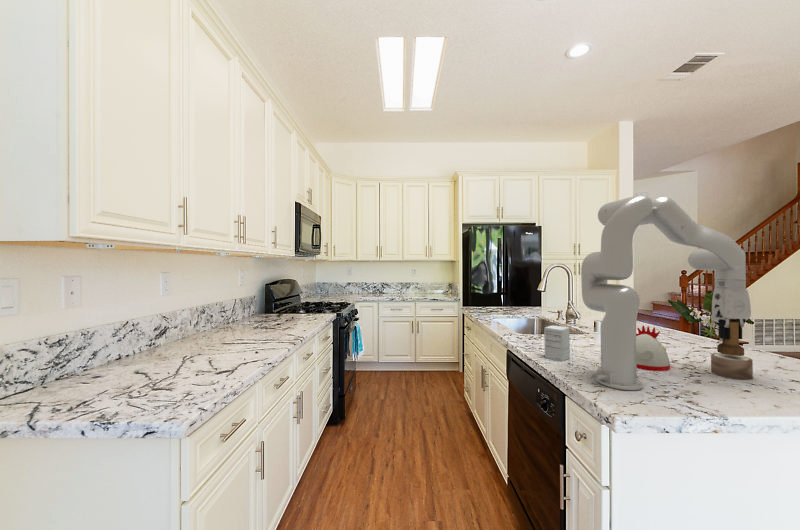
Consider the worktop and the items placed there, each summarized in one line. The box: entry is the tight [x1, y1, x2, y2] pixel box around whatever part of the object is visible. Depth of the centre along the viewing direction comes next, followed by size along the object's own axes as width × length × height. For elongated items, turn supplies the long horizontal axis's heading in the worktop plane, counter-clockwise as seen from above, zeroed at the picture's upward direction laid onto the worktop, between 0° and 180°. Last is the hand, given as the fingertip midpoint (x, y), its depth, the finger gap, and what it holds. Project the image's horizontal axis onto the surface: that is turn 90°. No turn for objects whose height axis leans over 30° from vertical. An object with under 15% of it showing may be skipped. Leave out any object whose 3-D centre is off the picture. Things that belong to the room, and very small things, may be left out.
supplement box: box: [543, 324, 571, 362], centre depth 134 cm, size 7×7×13 cm
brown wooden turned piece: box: [716, 319, 745, 356], centre depth 112 cm, size 7×6×18 cm
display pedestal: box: [710, 352, 754, 381], centre depth 112 cm, size 10×10×6 cm
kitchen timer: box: [636, 325, 671, 372], centre depth 124 cm, size 14×14×15 cm
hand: (730, 337), depth 112 cm, fingers closed on brown wooden turned piece, 3 cm apart
